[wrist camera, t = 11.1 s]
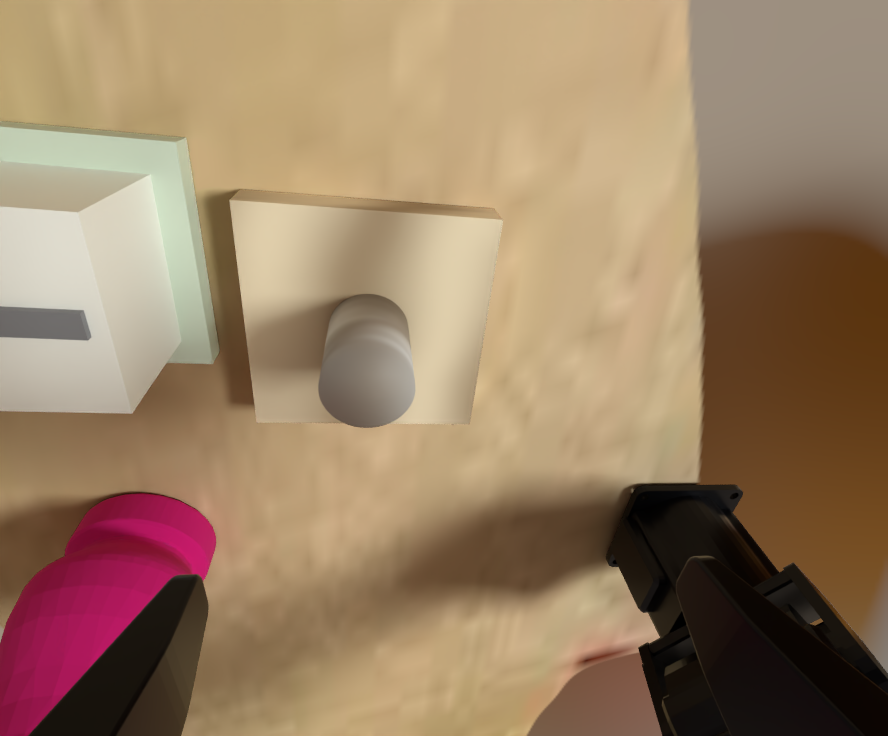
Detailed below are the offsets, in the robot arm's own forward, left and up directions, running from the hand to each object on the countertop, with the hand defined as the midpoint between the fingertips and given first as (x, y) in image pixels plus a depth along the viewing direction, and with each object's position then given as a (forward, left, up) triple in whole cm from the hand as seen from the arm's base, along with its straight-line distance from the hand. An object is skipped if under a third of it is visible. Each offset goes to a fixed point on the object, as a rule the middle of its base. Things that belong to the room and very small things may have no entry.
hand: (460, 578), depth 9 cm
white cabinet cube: (+12, -1, -12) cm, 17 cm away
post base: (+2, +1, -13) cm, 13 cm away
